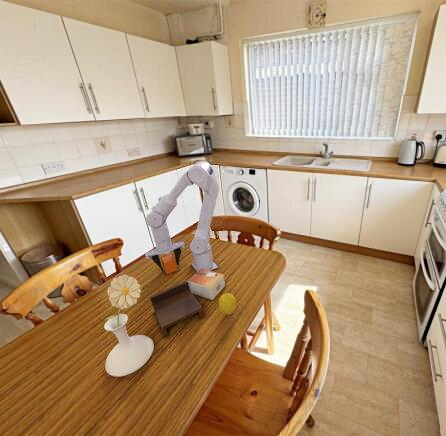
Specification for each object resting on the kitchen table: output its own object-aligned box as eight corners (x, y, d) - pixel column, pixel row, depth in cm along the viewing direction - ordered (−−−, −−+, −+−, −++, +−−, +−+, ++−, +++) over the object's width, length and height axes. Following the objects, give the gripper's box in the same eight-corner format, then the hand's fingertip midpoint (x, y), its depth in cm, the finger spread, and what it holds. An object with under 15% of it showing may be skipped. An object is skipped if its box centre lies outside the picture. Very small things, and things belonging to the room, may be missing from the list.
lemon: (240, 309, 78) (238, 291, 75) (231, 322, 74) (228, 303, 71) (227, 305, 81) (224, 286, 77) (216, 317, 76) (213, 298, 73)
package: (163, 268, 100) (160, 258, 98) (174, 264, 103) (171, 254, 100) (167, 274, 97) (163, 263, 94) (177, 270, 99) (175, 259, 97)
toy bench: (155, 312, 79) (149, 296, 76) (190, 296, 85) (186, 280, 82) (164, 337, 70) (159, 320, 67) (203, 316, 76) (200, 300, 73)
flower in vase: (121, 389, 57) (83, 313, 46) (99, 365, 63) (59, 292, 52) (169, 347, 67) (146, 275, 56) (145, 329, 73) (120, 262, 62)
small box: (210, 288, 80) (186, 280, 84) (212, 300, 83) (189, 292, 87) (223, 274, 87) (200, 267, 91) (225, 285, 90) (203, 279, 93)
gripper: (143, 248, 87) (152, 278, 93) (183, 237, 94) (190, 265, 100) (141, 241, 92) (149, 269, 98) (179, 230, 99) (185, 257, 105)
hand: (170, 266), depth 99 cm, fingers open, 6 cm apart
